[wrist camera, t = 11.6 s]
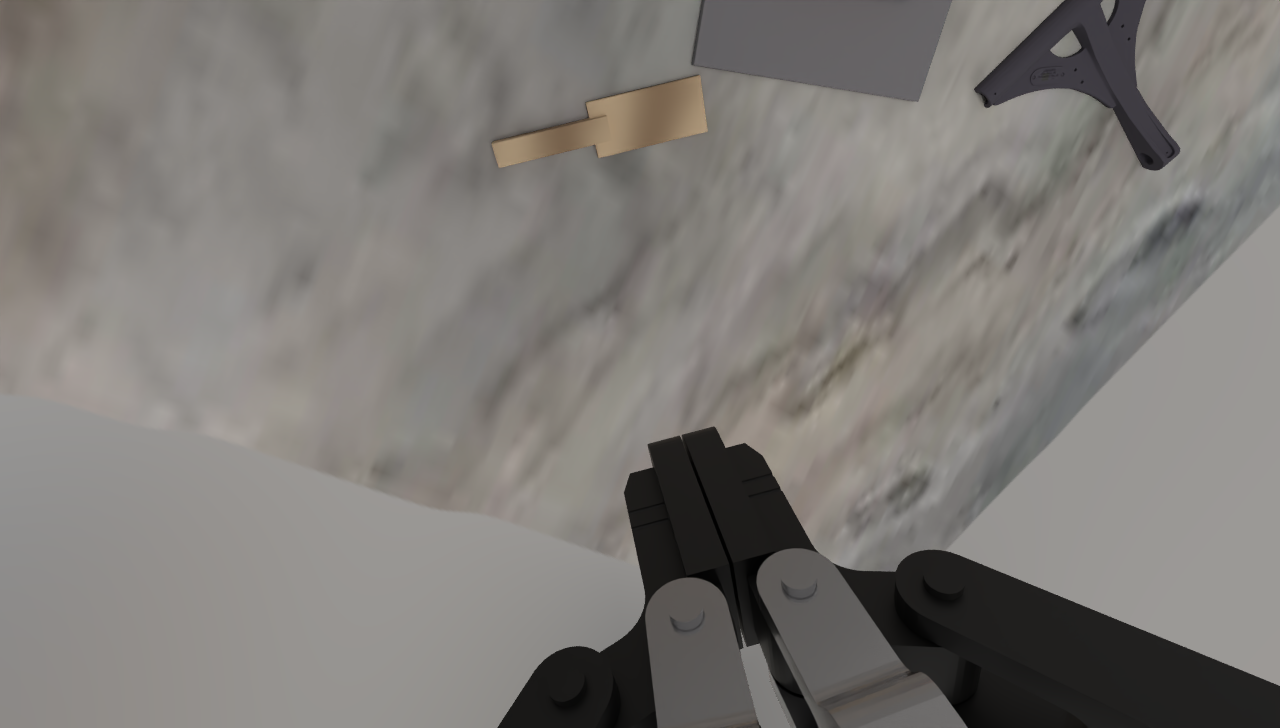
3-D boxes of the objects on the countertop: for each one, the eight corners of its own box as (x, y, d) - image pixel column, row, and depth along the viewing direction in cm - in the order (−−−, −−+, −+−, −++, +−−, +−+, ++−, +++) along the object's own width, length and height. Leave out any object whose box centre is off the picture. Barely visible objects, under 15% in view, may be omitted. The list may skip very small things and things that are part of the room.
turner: (504, 179, 37) (503, 182, 36) (487, 125, 35) (486, 127, 34) (705, 130, 37) (709, 132, 36) (697, 75, 35) (702, 76, 35)
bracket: (1058, 232, 45) (1088, 243, 43) (967, 88, 39) (995, 91, 37) (1233, 80, 42) (1276, 83, 39) (1163, -106, 35) (1210, -116, 33)
